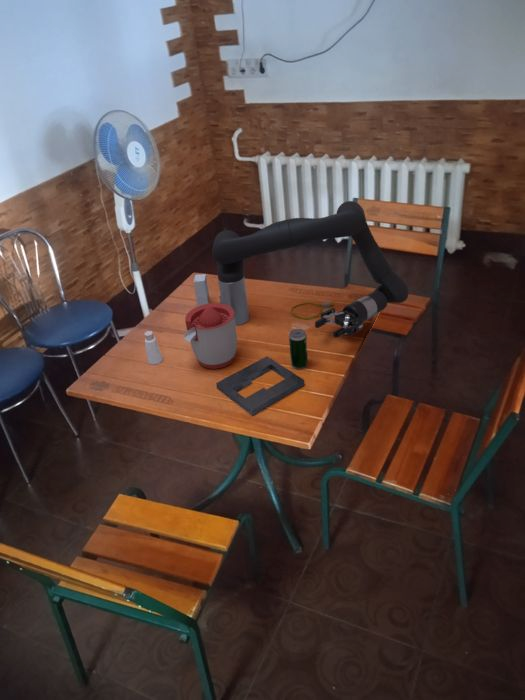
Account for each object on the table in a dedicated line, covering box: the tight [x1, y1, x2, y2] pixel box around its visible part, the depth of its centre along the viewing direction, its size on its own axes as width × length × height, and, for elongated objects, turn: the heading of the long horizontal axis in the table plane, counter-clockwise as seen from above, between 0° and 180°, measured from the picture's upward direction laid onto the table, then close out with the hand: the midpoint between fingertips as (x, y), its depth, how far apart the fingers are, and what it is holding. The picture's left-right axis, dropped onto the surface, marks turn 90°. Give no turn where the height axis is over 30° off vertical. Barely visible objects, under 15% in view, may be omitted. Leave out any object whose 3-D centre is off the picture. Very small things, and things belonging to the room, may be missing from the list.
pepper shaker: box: [143, 330, 164, 366], centre depth 185 cm, size 5×5×11 cm
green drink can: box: [288, 328, 309, 370], centre depth 175 cm, size 5×5×12 cm
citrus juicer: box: [183, 302, 238, 370], centre depth 179 cm, size 16×17×20 cm
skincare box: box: [193, 273, 211, 307], centre depth 213 cm, size 6×4×12 cm
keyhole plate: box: [215, 356, 305, 417], centre depth 170 cm, size 20×18×2 cm
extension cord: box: [290, 301, 334, 321], centre depth 205 cm, size 12×16×2 cm
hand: (325, 330), depth 179 cm, fingers open, 8 cm apart
